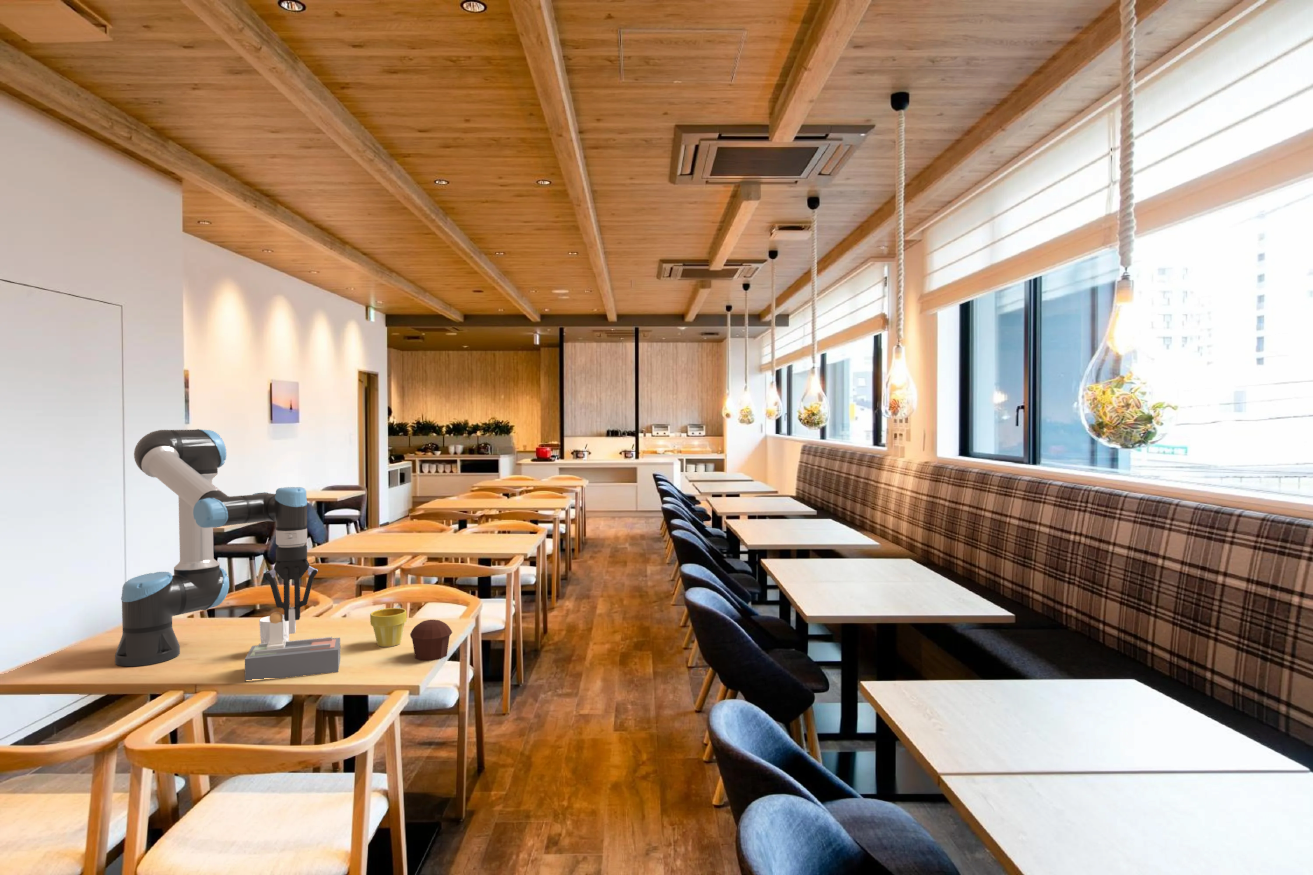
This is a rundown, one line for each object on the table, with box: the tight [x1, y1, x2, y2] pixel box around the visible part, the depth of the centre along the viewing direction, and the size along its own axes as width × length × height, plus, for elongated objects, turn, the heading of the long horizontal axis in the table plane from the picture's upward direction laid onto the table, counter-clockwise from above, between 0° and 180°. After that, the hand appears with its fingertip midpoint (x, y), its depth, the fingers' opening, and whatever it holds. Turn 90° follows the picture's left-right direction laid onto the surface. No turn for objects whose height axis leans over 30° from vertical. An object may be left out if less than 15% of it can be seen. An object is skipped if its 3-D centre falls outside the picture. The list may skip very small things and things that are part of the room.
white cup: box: [259, 614, 290, 644], centre depth 214 cm, size 8×8×10 cm
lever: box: [267, 611, 286, 650], centre depth 197 cm, size 5×4×10 cm
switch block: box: [244, 636, 341, 681], centre depth 198 cm, size 12×22×7 cm, turn 111°
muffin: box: [409, 619, 453, 662], centre depth 210 cm, size 12×11×10 cm
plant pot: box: [369, 607, 408, 648], centre depth 222 cm, size 10×10×10 cm
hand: (292, 632), depth 198 cm, fingers closed
